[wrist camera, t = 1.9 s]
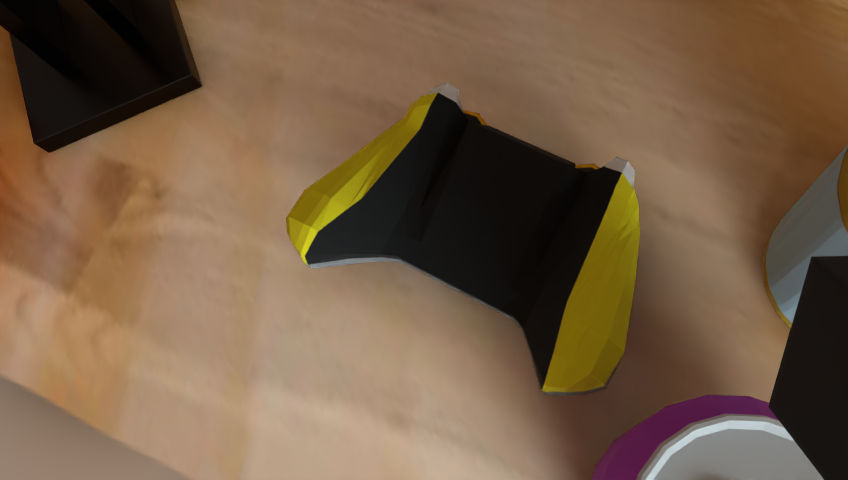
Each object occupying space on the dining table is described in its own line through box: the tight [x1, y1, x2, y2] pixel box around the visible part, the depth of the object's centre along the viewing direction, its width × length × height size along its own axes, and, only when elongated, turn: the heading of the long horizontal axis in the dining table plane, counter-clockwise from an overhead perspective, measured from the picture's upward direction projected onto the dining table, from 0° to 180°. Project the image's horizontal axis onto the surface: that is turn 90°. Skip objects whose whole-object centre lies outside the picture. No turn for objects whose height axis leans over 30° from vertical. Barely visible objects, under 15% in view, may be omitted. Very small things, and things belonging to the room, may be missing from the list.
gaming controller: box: [286, 83, 640, 396], centre depth 33 cm, size 15×6×10 cm
